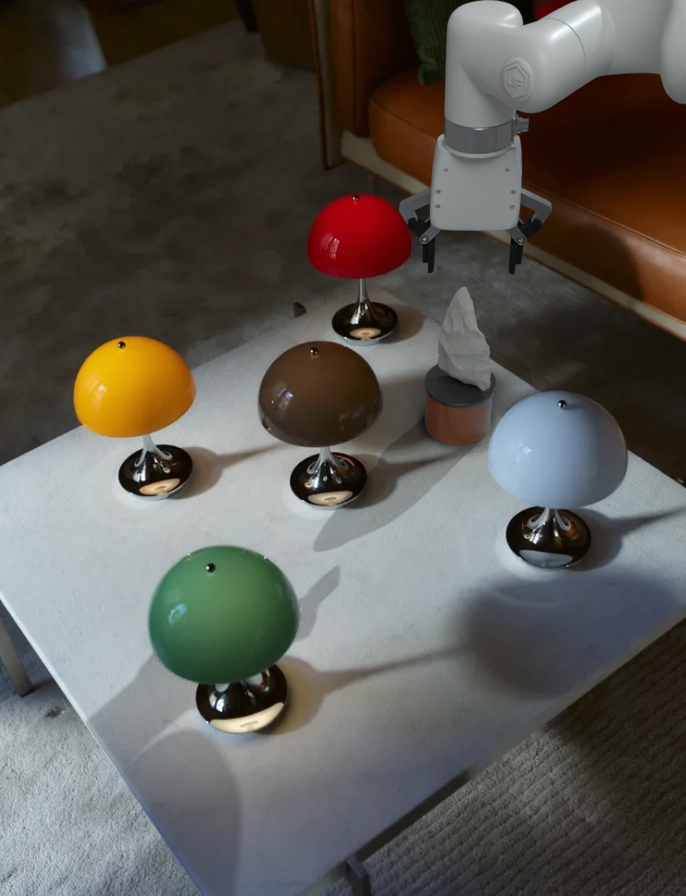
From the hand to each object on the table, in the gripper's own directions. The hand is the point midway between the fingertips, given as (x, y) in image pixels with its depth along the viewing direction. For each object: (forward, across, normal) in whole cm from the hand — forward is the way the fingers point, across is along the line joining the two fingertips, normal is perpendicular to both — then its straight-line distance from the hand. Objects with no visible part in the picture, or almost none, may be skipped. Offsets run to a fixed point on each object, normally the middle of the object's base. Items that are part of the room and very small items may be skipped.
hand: (471, 267), depth 114 cm
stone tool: (+18, 0, 0) cm, 18 cm away
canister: (+26, +1, 0) cm, 26 cm away
